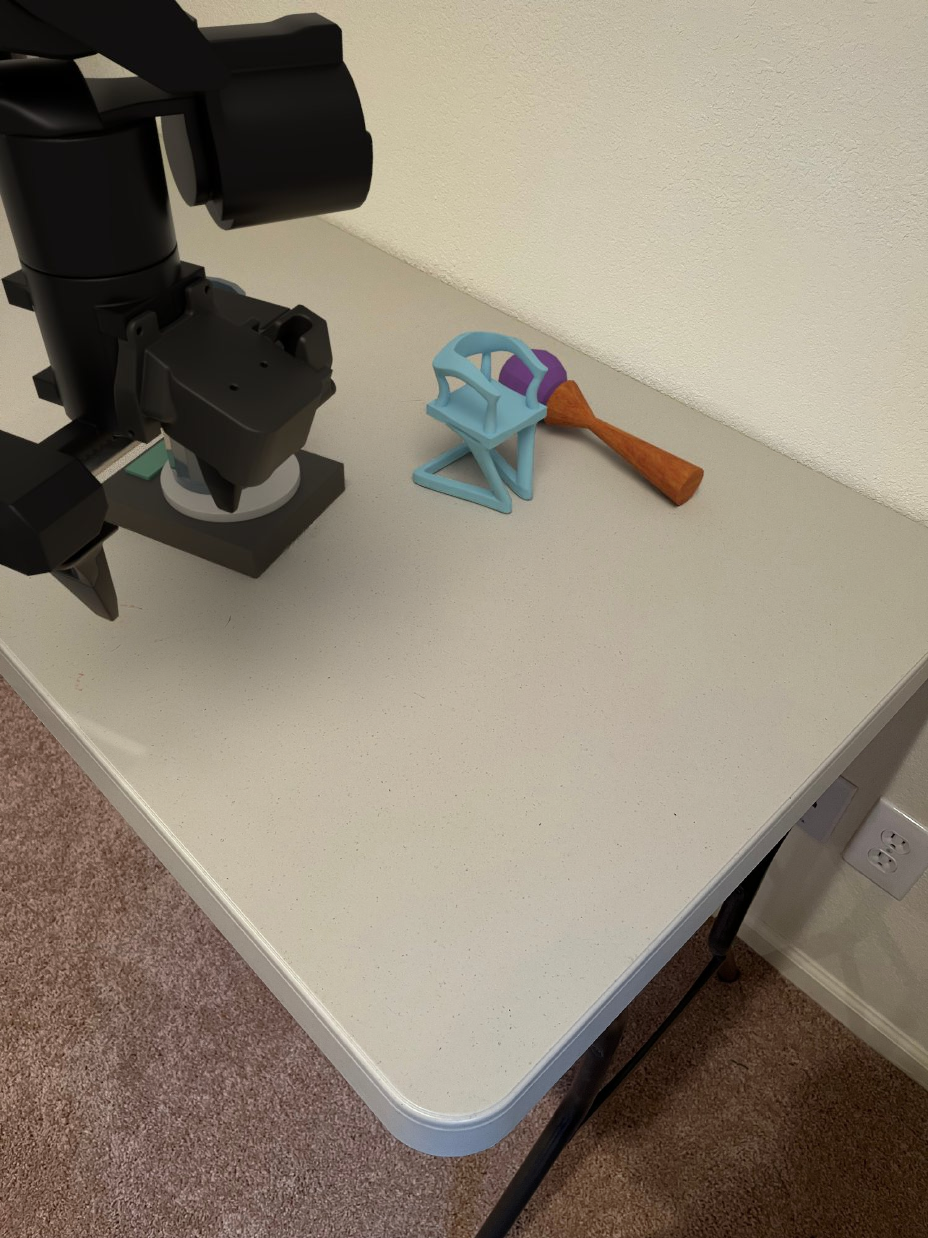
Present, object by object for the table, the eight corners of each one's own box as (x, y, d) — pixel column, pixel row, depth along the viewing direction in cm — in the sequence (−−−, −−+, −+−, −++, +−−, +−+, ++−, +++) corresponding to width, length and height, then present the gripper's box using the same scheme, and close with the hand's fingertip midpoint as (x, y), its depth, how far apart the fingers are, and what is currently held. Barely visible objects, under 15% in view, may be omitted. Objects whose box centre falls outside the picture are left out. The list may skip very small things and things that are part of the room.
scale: (98, 518, 68) (87, 481, 65) (199, 439, 75) (193, 404, 73) (256, 579, 64) (251, 543, 61) (345, 489, 72) (343, 454, 69)
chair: (488, 528, 69) (500, 387, 61) (410, 480, 73) (412, 341, 64) (551, 486, 73) (572, 349, 65) (475, 443, 77) (485, 308, 69)
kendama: (671, 480, 68) (483, 357, 76) (660, 532, 73) (484, 411, 81) (721, 439, 70) (533, 324, 79) (706, 492, 75) (531, 378, 83)
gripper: (94, 423, 26) (185, 755, 37) (404, 211, 38) (403, 507, 49) (-181, 327, 29) (-22, 659, 40) (188, 159, 41) (232, 449, 52)
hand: (171, 559), depth 45 cm, fingers open, 9 cm apart
